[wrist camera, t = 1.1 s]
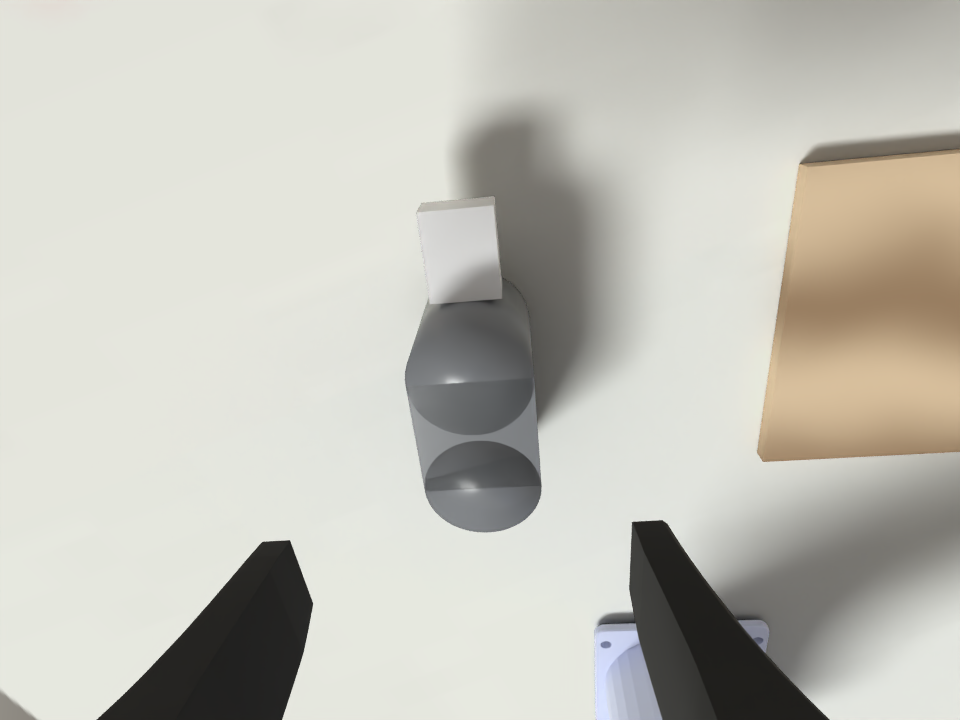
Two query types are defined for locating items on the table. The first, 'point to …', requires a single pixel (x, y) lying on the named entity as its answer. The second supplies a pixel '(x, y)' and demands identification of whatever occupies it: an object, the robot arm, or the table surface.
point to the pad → (868, 312)
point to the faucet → (473, 375)
